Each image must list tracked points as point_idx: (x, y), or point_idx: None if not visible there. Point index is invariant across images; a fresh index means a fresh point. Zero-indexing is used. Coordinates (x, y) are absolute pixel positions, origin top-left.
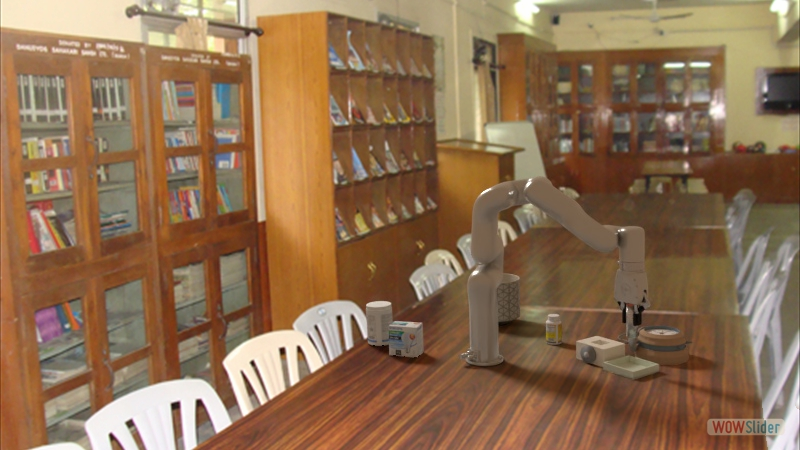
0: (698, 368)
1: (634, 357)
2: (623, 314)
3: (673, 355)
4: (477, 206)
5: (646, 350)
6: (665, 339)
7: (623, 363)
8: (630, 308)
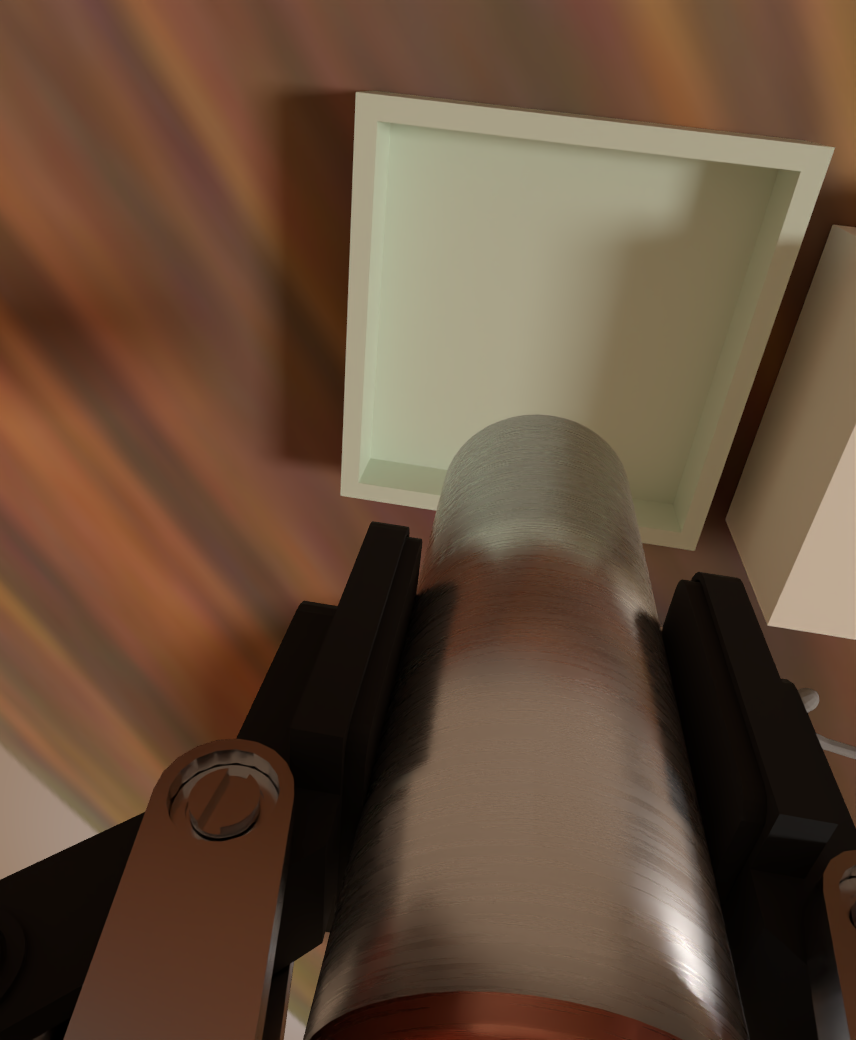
0: (229, 677)
1: None
2: (750, 723)
3: None
4: None
5: None
6: None
7: (688, 429)
8: (451, 905)
